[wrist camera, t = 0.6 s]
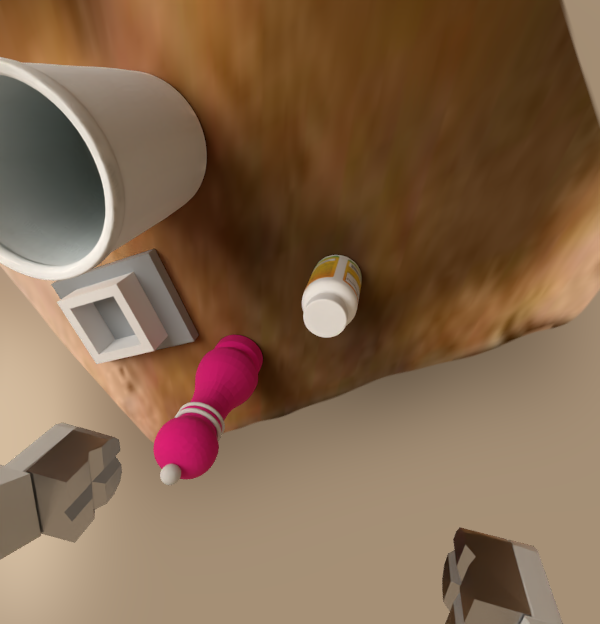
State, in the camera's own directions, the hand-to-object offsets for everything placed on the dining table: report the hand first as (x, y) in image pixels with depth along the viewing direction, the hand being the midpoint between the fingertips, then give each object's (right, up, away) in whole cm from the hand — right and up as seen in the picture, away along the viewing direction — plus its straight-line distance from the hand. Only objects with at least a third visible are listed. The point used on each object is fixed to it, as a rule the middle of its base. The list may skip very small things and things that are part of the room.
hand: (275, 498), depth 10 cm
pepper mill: (-7, -1, +44) cm, 45 cm away
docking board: (-21, +5, +44) cm, 49 cm away
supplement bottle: (+5, +8, +36) cm, 38 cm away
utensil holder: (-15, +21, +34) cm, 43 cm away
